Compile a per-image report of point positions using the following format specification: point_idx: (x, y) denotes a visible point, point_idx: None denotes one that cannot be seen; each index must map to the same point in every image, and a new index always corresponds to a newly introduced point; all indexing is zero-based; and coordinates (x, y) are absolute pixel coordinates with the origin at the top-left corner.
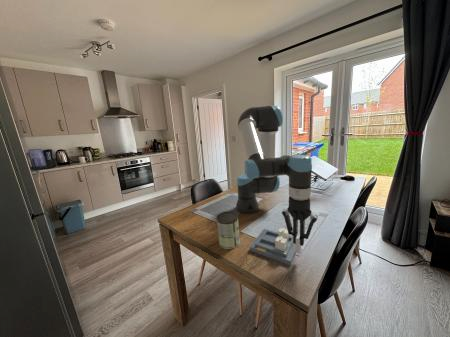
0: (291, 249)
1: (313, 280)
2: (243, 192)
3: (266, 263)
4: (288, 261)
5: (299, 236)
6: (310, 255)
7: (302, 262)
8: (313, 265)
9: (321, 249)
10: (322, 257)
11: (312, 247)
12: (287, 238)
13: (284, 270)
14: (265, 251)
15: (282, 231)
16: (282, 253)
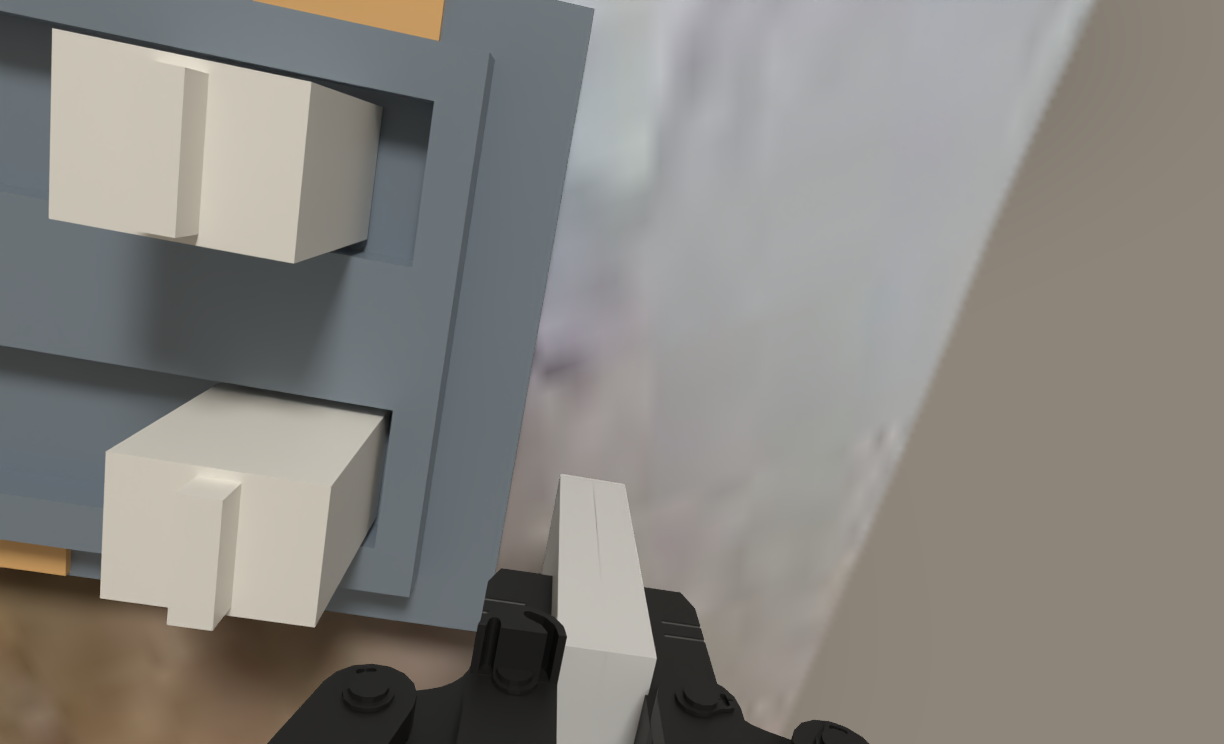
0: (465, 379)
1: (751, 714)
2: None
3: (185, 656)
4: (456, 618)
5: (610, 717)
6: (745, 312)
7: (635, 489)
8: (769, 496)
9: (922, 109)
10: (904, 302)
11: (789, 98)
12: (343, 221)
13: (431, 688)
14: (73, 557)
15: (156, 229)
16: (342, 585)
